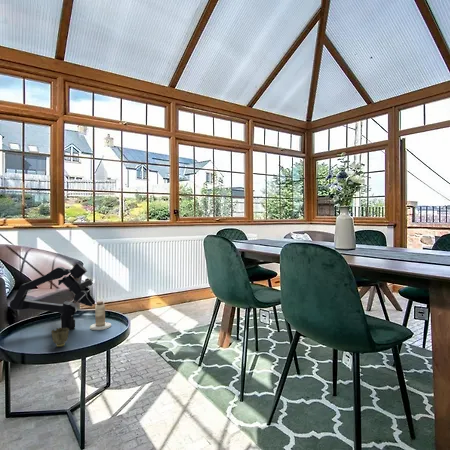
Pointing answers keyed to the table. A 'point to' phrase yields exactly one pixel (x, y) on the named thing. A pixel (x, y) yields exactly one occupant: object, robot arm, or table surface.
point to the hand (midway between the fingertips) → (93, 304)
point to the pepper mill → (100, 314)
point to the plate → (94, 327)
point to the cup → (60, 336)
